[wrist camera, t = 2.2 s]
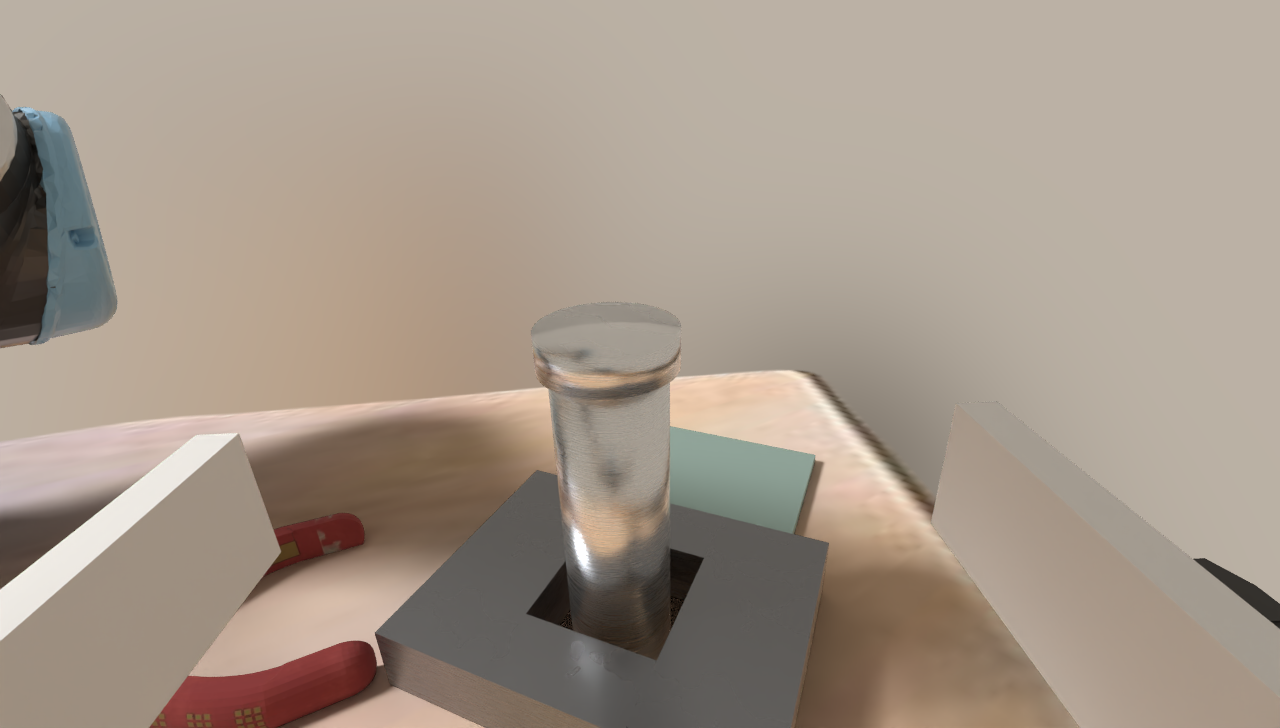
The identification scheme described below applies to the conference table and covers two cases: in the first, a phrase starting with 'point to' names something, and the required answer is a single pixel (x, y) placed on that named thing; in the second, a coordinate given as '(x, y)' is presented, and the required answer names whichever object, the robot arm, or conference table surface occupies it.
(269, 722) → the pliers
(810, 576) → the socket plate
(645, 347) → the steel pin
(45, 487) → the conference table surface
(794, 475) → the rubber mat
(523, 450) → the conference table surface
